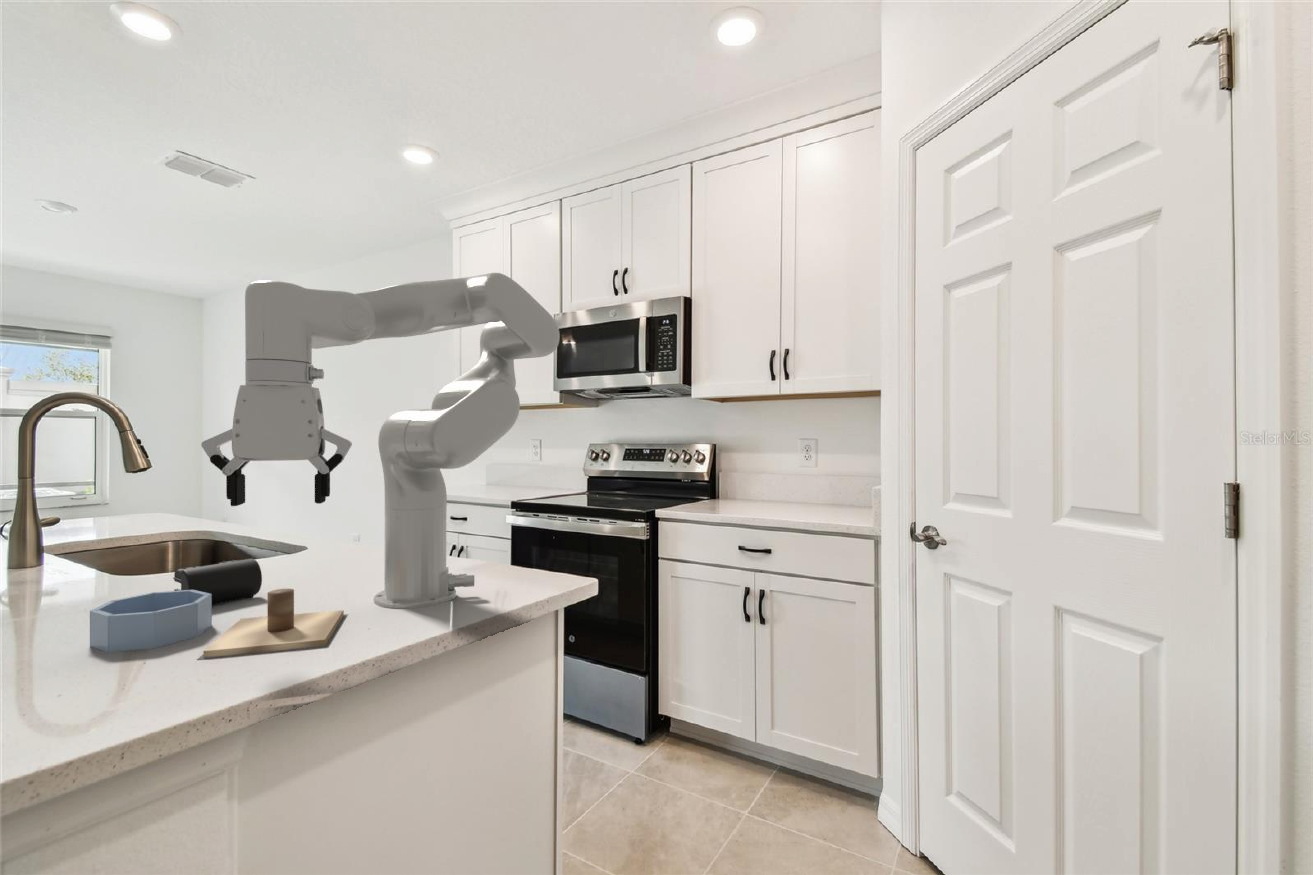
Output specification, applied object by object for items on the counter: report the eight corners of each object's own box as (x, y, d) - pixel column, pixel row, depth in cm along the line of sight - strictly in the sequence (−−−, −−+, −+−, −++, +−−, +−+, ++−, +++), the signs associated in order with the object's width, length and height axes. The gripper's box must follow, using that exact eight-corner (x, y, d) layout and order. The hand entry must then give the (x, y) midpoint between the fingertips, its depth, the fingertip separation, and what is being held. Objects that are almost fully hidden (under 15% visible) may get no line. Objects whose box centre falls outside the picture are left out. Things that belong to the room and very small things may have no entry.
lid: (343, 615, 87) (343, 576, 87) (325, 645, 75) (325, 600, 75) (241, 624, 83) (241, 583, 83) (203, 657, 71) (203, 609, 71)
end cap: (189, 617, 88) (189, 572, 88) (170, 609, 92) (170, 566, 92) (262, 601, 97) (262, 560, 97) (242, 594, 101) (242, 555, 101)
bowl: (220, 621, 86) (220, 587, 86) (186, 649, 75) (186, 610, 75) (124, 629, 82) (123, 594, 82) (73, 659, 71) (73, 619, 71)
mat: (347, 618, 88) (347, 614, 88) (328, 651, 75) (328, 646, 75) (238, 627, 84) (238, 623, 83) (196, 664, 70) (196, 659, 70)
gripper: (355, 380, 85) (356, 498, 85) (214, 376, 80) (215, 502, 80) (345, 376, 78) (346, 504, 78) (189, 371, 73) (190, 509, 73)
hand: (279, 503), depth 79 cm, fingers open, 9 cm apart
